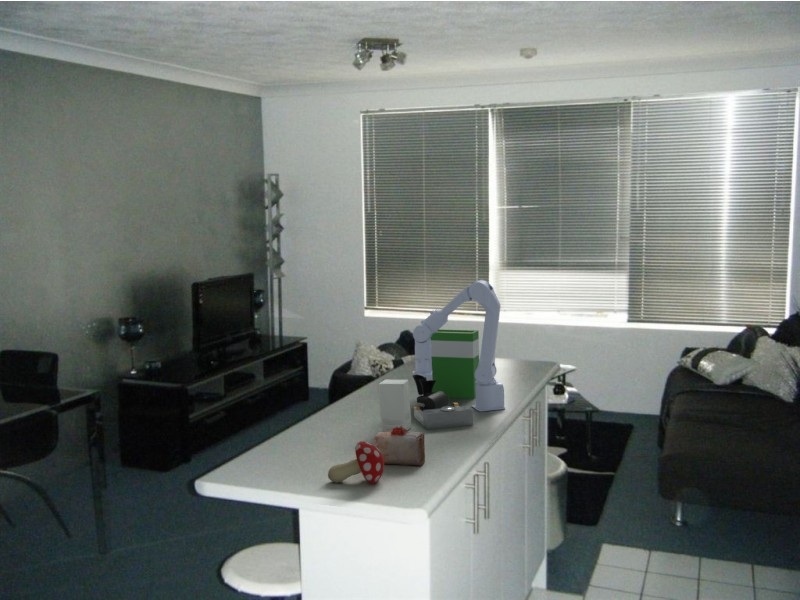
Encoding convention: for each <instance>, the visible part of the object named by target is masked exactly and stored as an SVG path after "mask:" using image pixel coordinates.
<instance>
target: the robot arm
mask: <svg viewBox="0 0 800 600" xmlns="http://www.w3.org/2000/svg"><path fill="white" fill-rule="evenodd" d="M472 300H473V301H475V302H476V303H478V304H480V305H481V306H482V307H483V309H484V310H485V313H484V314H485V315H484V323H483V332H482V340H481V341H482V342H481V348H480V354H479V364H478V368H477V369H476V371H475V374H474V375H475V379H476V381H475V392H476V398H475V404H471V407H472V408H474V409H475V410H476V411H478V412H488V411H489V412H490V411H497V410H499V411H500V410H505V409H506V407H505V388H504V385H503V383H502V382H501V381H497V379H496V378H495V376H496V374H497V367H496V357H495V356H496V355H495V354H496V347H497V338H498V329H499V323H500V322H499V320H500V313H501V302H500V300H499V298H498V296H497V294H496V292H495V289H494V287H493V285H491V284H490V283H489V282H488V281H487V280H485V279H478V280H476V281H475V282H472V283H471V284H470V285H469V286H467V287H466V288H464V289H462V290H461V291H459V293H457V295H455V296H454V297H453V298H452V299H451V300H449V302H448V303H447V304H446V305H445V306H444V307H443V308H442V309H440V308H438V309H437V308H436V309H435V310H434V309H433V310H431V311H430V314H429V315H428V316H427V317H426V318H425V319H422V320H421V321H420V323H421V324H419V325H416V326H415V328H414V329H413V332H412V337H413V339H414V357H415V358H414V360H415V361H414V364H415V370H413V371H412V372H411V373H412V374H413V375H412V378H413V380H414V383H415V385H416V390H417V394H418V395H419V396H421V395H422V396H429V395H425V394H426V393H428V392H432V389H433V386H434V384H435V382H436V380H435V379H432V358H431V336H432V334H433V333H435V332H436V331H438V330H439V329H441V328H442V327H444V326H445V325H446V324H447V323H448V321H449V319H448V318H449V316H450V314H453V312H454V311H455V310H457V309H458V308H459V307H460V306H461V305H463V304H464V303H466V302H471V301H472Z"/></svg>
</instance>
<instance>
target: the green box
mask: <svg viewBox="0 0 800 600" xmlns="http://www.w3.org/2000/svg"><path fill="white" fill-rule="evenodd" d="M479 337H480V336H479V330H473V329H469V330H468V329H444V328H443V329H441V328H440V329H439V330H438V331H436V332H435V333H433V334H432V336H431V358H432V379H435V380H436V382H435V384H434V386H433V389H432V392H433V393H436V392H439V391H442V392H444V393H445V394H446V395H447V397H448V398H451V399H452V398H454V399H470V400H476V392H475V381H476V379H475V375H474V374H475V371H476V369H477V368H478V364H479V359H480V346H479V345H480V344H479V343H480V342H479V341H480V340H479V339H480V338H479Z"/></svg>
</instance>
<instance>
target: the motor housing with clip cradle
mask: <svg viewBox="0 0 800 600" xmlns="http://www.w3.org/2000/svg"><path fill="white" fill-rule="evenodd" d="M473 410H474V409H473V408H471V407H470V406H468V405H466V406H465V405H463V406H460V405H459V403H458V402H452V406H450V405H449V406H448V405H447V406H445V407H441V409H431V410H423V412H422V411H421V410H420V407H419V405H416V406H413V417H414V419H415V420H417V421H418V422H419V423H420V424H421V425H422V426H423V427H425V428H426V429H427V430H435V429H445V428H456V427H464V426H465V427H466V426H473V425H474V411H473Z"/></svg>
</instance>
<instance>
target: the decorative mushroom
mask: <svg viewBox="0 0 800 600" xmlns="http://www.w3.org/2000/svg"><path fill="white" fill-rule="evenodd" d="M354 450H355V451H354V453H355V457H356V458H355V459H351V460H349V461H347V462H345V463H339V464H334V465H333V466H331V467H330V468H329V469H328V473H327V476H328V479H329V480H330V481H331V482H332V483H337V484H339V483H341V482H343V481H345V480H347V479H348V478H350V477H352V476H355V475H358V474H362V475H363V478H364V480H366V482H367V483H369V484H376V483H377V482H379V480H380V479H381V477H382V476H383V472H384V468H385V464H384V458H383V455H382V453H381V452H380V451H379V449H378V448H377V446H376V445H374V444H372V443H371V442H367V441H359V442H357V444H356V445H355V449H354Z"/></svg>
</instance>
